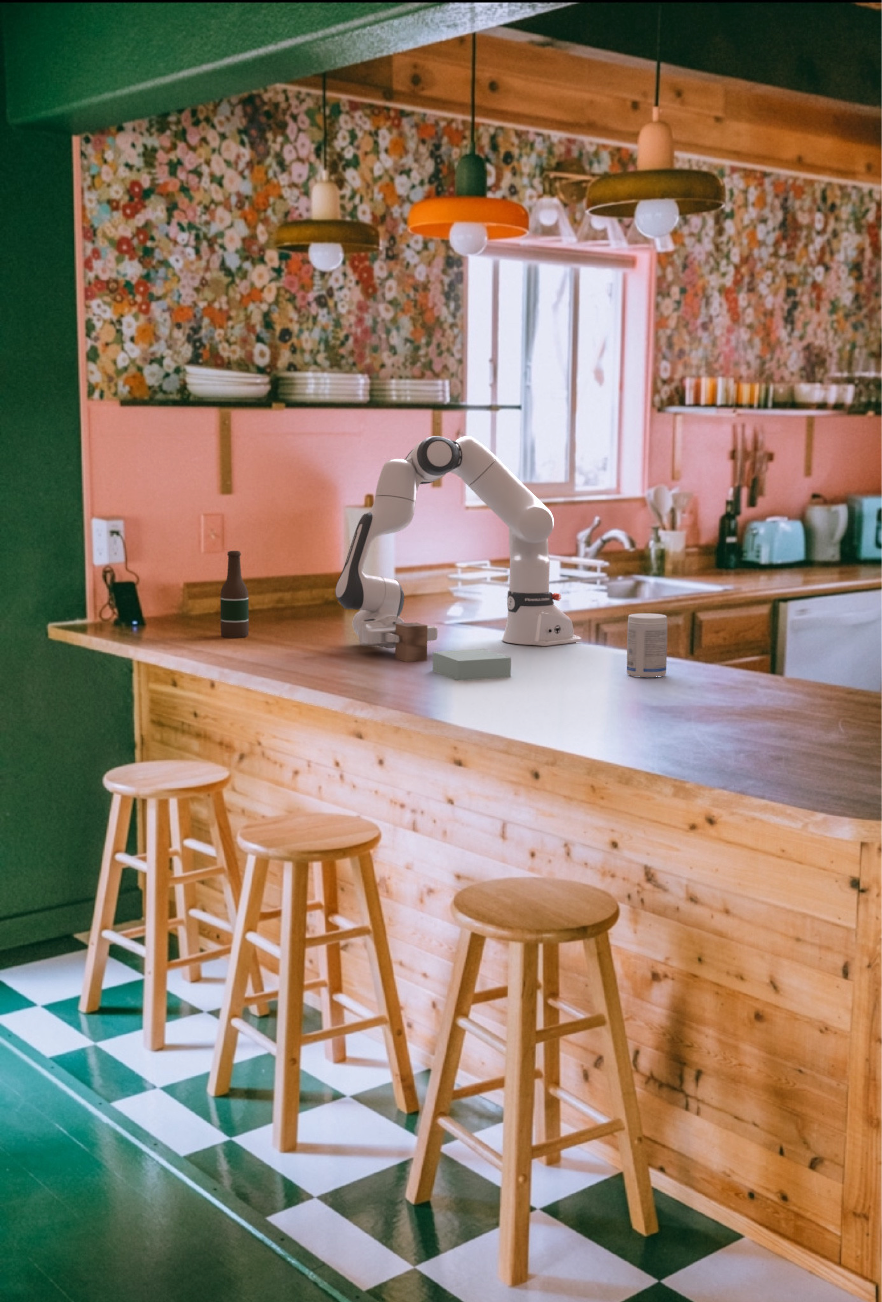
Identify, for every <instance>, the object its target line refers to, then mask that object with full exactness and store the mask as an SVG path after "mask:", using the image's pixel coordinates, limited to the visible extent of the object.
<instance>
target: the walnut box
mask: <svg viewBox="0 0 882 1302" xmlns="http://www.w3.org/2000/svg"><path fill="white" fill-rule="evenodd" d="M424 624H425V623H423V624H422V623H420V622H404V623H398V624H396V635H402V642H399V643H396V645H395V650H394V651H395V655H394V656H395V657H394V658H395V659H396V660H399V661H403V662H405V663H409V662H410V663H411V662H422V661H423V662H424V661H426V662H427V660H428V641H427V625H428V624H425V625H424Z"/></svg>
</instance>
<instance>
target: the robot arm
mask: <svg viewBox="0 0 882 1302" xmlns="http://www.w3.org/2000/svg"><path fill="white" fill-rule="evenodd" d="M448 473H451V474H454V475H456V476H457V477H459V478H461V480H462V482H463V483H465V484H466V485H467V487H468V488H470V490H471V491H473V493H475V495H476V496H477V497H478V498H479V499H480V500H481V501H482V502H483V503H484V504H485V505H486V506H487V507H488V508H489V509H490V510H491V511H492V512H493V513H494V514H495V515H496V516H497V517H498V518H499V519H500V520H501V521H502V522H503V523H504V524H506V526H507V527H508V548H509V549H508V551H509V588H508V591H507V603H506V604H507V618H506V623H505V624H506V625H505V629H504V633H503V636H502V639H501V640H502V642H505V643H508V644H509V643H510V644H516V645H529V646H531V645H533V646H542V647H545V646H546V647H547V646H555V645H556V646H557V645H562V644H573V643H580V642H582V637H580V635H579V636H578V635H575V634H574V626H573V622H572V619H571V618H570V617H569V616H568V615H567V614H565V613H564V612H563V611H562V610H561V609H560V608H558V607H557V606H556V605H555V602H554V601H557V602H558V601H560V600H561V599H562V595H561V593H557V592H555V593H552V592H551V591H550V567H551V566H550V556H549V555H550V554H549V537H550V535H551V534H552V532H553V530H554V527H555V523H554V522H555V519H554V516H553V514H552V512H551V510H550V509H549V508H548V507H547V506H546V505H545V504H544V503H543V502H542V501H541V500H540V499H539V498H538V497H537V496H536V495H534V493H532V492H533V491H531V490H529V489H528V488H527V487H526V486H525V485H524V484H523V482H522V481H520V480H519V479H518V478H517V477H516V476H515V474H514V473H512V472H511V470H509V468H508V467H507V466H505V464H504V463H503V462H502V461H501V460H500V459H499V458H498V457H497V456H496V455H495V454H494V453H493V452H492V451H491V450H489V449H488V448H487V447H486V446H484V445H483V444H482V443H481V442H480V441H478V440H477V439H475V438H474V437H473V436H467V435H465V436H462V437H460V438H458V439H456V440H452V439H449V438H446V437H444V436H440V435H433V436H429V437H426V438H424V440H421V441H420V442H418V443H417V444H416V445H415V446H414V447H413V449H412V450H410V452H408V454H407V456H405V458H404V459H403V458H392V459H390V460H388V461H387V462H385V463H384V464H383V466H382V468H381V471H380V473H379V476H378V481H377V486H376V489H375V495H374V501H373V504H372V506H371V508H370V509H369V510H368V512H367V513H364V514H363V515H362V516H361V518H360V519H359V521H358V523H357V526H356V528H355V531H354V535H353V536H352V540H351V544H350V546H349V550H348V553H347V555H346V559H345V563H344V565H343V569H342V571H341V573H340V575H339V577H338V579H337V582H336V585H335V590H334V593H335V598H336V599H337V601H338V602H339V604H340V606H341V607H343V609H345V610H359V611H357V612H356V613H355V615H354V616H353V617H352V618H353V619H352V623H351V624H352V629H353V630H354V633H355V634H356V635H357V637H358V638H359V639H358V641H359V645H360V646H362V647H363V646H365V647H369V646H370V647H371V646H372V647H379V648H386V649H394V648H395V645H396V643H399V642H402V635H396V624H398V623H405V622H404V620H403V619H402V618H401V617H400V615H401V614H402V611H403V609H404V605H405V592H404V589H403V588H402V586H401V583H400V582H399V581H398V580H397V579H393V578H389V577H384V576H377V575H373V574H367V573H364V571H363V569H364V566H365V562H366V559H367V556H368V553H369V551H370V550H369V549H370V546H371V544H372V543H373V541H374V540H375V539H377V538H378V537H380V536H384V535H389V534H394V533H398V532H401V531H402V530H404V529H405V528H407V527H408V526H409V525H410V524H411V522H412V520H413V518H414V515H415V509H416V500H417V491H418V489H419V486H420V485H427V484H431V483H434V482H435V481H438V480H440V479H442V478H443V477H445V476H446V475H447V474H448ZM423 624H424V625H427V642H431V641H432V642H434V641H436V640H437V639H438V632H439V631H438V627H437V626H435V625H431V624H425V623H423Z"/></svg>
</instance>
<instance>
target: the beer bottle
mask: <svg viewBox="0 0 882 1302" xmlns="http://www.w3.org/2000/svg"><path fill="white" fill-rule="evenodd" d="M226 554H227V556H228V560H227V572H226V573H227V576H226V579H225V582H224V583H223V584H222V588H221V589H220V601H219V602H220V604H219V605H220V635H221V637H222V638H226V639H242V638H243V639H245V638H247V637H248V636H249V631H250V630H249V629H250V627H249V625H250V624H249V620H250V619H249V613H250V611H249V609H250V608H249V606H250V605H249V603H250V602H249V590H248V588H247V585H246V584H245V582H244V580H243V577H242V568H241V556H242V554H241V551H240V550H229V551H227V553H226Z"/></svg>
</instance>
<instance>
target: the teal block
mask: <svg viewBox="0 0 882 1302" xmlns="http://www.w3.org/2000/svg"><path fill="white" fill-rule="evenodd" d="M511 663H512V657H510V656H507V655H504V654H501V653H497V652H494V651H491V650H488V649H484V648H481V649H477V648H476V649H464V650H463V649H462V650H461V649H459V650H443V651H442V650H441V651H433V652H432V671H433V672H435V673H438V674H439V675H442V676H443V675H444V676H446V677H447V678H451V679H453V680H455V681H468V680H469V681H471V680H482V679H497V678H498V679H499V678H510V677H511V675H512V674H511V671H512V670H511V667H512V664H511Z"/></svg>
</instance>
